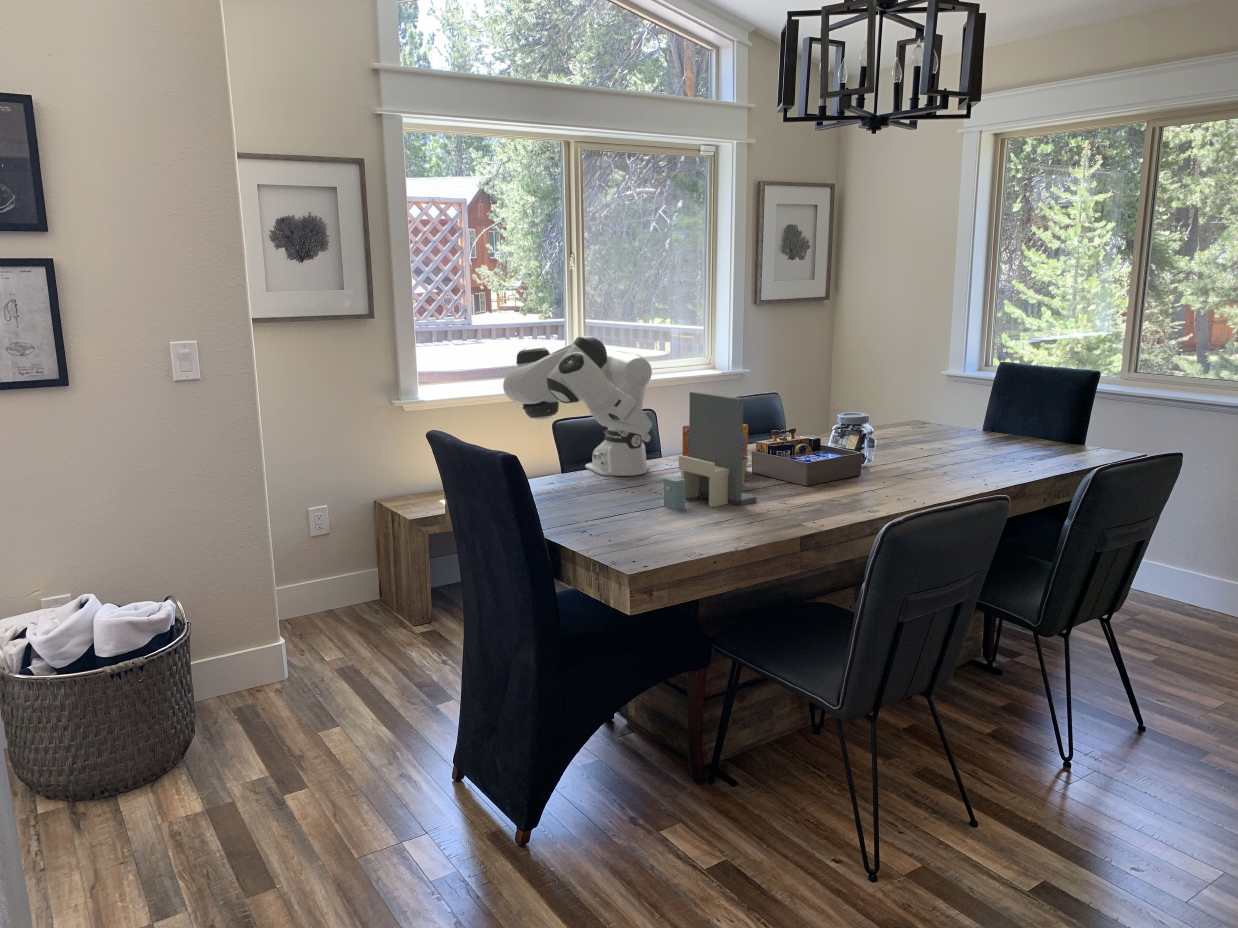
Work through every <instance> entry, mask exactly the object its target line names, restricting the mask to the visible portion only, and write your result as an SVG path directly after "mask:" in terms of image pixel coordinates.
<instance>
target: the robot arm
mask: <svg viewBox="0 0 1238 928" xmlns="http://www.w3.org/2000/svg"><path fill="white" fill-rule="evenodd" d="M515 362H516V366H517V367H516V368H515V369H512V370H511V371H509V373H508V374H507V375H506V376H505V377H504V379H503V384H502V388H503V392H504V394H505V396H506V397H507V398H508V399H509V400H511V401H513V402H514V403H517V404H522V407H521V408H522V410H524V413H525V414H526V416H527V417H528V418H530V419H534V420H540V421H541V420H542V421H543V420H548V419H550V418H551V417H553V416H555V415H556V414H558V412H559V407H560V403H563V404H575V403H578V402H580V401H581V402H583V403H584V405H585V406H586V408H587V409H588V410H589V411H588V412H589V413H590V415H592V417H593V418H594V419H595V420H596V422H597V423H598V424H599V425H601V426H602V427H606V428H607V429H605V430H603V435H604V434H605V436H604V440H603V441H602V442H601V443H600V444H599V445H598V446H596V447H595V448H594V449H593V452H592V457H591V458H592V459H591V460H592V462H588V463H586V464H585V468H586V469H587V470H590V471H592V472H594V473H597V474H598V475H601V476H623V477H624V476H625V477H626V476H629V477H630V476H638V475H643V474H646V473H647V472H648V470H649V469H650V465H649V464H647V463H648V462H647V453H646V445H645V443H644V442H646V443H649V442H650V440H651V439H652V437H651V435H650V434H649V432H650V430H651V429H652V427H653V422H652V421H651V420H650V418H649V416H648V415H647V414H646V413H645V411H644V410H643V405H644V399H645V395H646V389H647V385H648V383H649V382H650V381H651V378H652V376H653V375H652V374H653V372H652V371H653V370H652V366H651V364H650V363H649V362H648V360H646V359H645V358H644V357H643V356H641V355H639V354H637V353H636V354H635V353H631V352H626V351H622V350H621V351H619V350H615V351H611V352H607V348H606V346H605V345H604V344H603V342H602V341H601V340H600V339H598V338H597V337H594V336H591V335H579V336H577V337H576V338H575V340H574V341H573V343H572V344H570V345H569V344H568V345H567V346H565V347H562V348H560V349H558V350H555V351H554V352H552V353H550V352H549V349H547V348H546V347H542V346H540V345H539V346H537V345H529V346H527V347H525V348H523V349H522V350H519V351H518V353H517V354H516V361H515Z"/></svg>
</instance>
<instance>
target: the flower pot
mask: <svg viewBox="0 0 1238 928" xmlns="http://www.w3.org/2000/svg"><path fill="white" fill-rule="evenodd" d="M749 460H750V458H749V456H747V457H746V456H742V487H744V484H745V476H746V472H747V471H746V465H747V466H748V461H749Z"/></svg>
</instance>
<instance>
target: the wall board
mask: <svg viewBox="0 0 1238 928" xmlns="http://www.w3.org/2000/svg"><path fill="white" fill-rule="evenodd" d="M744 400H745V399H744V398H742V397H737V396H736V397H735V396H729V395H721V394H714V393H709V392H708V393H707V392H700V391H689V420H688V421H689V424H688V425H689V457H687V456H682V454H681V455H680V454H679V455H678V470H679V471H680V478H681V479H684V480H685V500H686V499H689V498H696V497H702V498H705V499H708V507H709V508H710V507H711V508H713V507H719V506H723V505H730V506H733V507H739V506H742V505H743V504H744V505H749V504H752V503H757V499H758V497H757V496H755V495H751V494H748V493H743V491H742V488H743V486H742V446H743V424H744ZM748 503H749V504H748Z"/></svg>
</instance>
